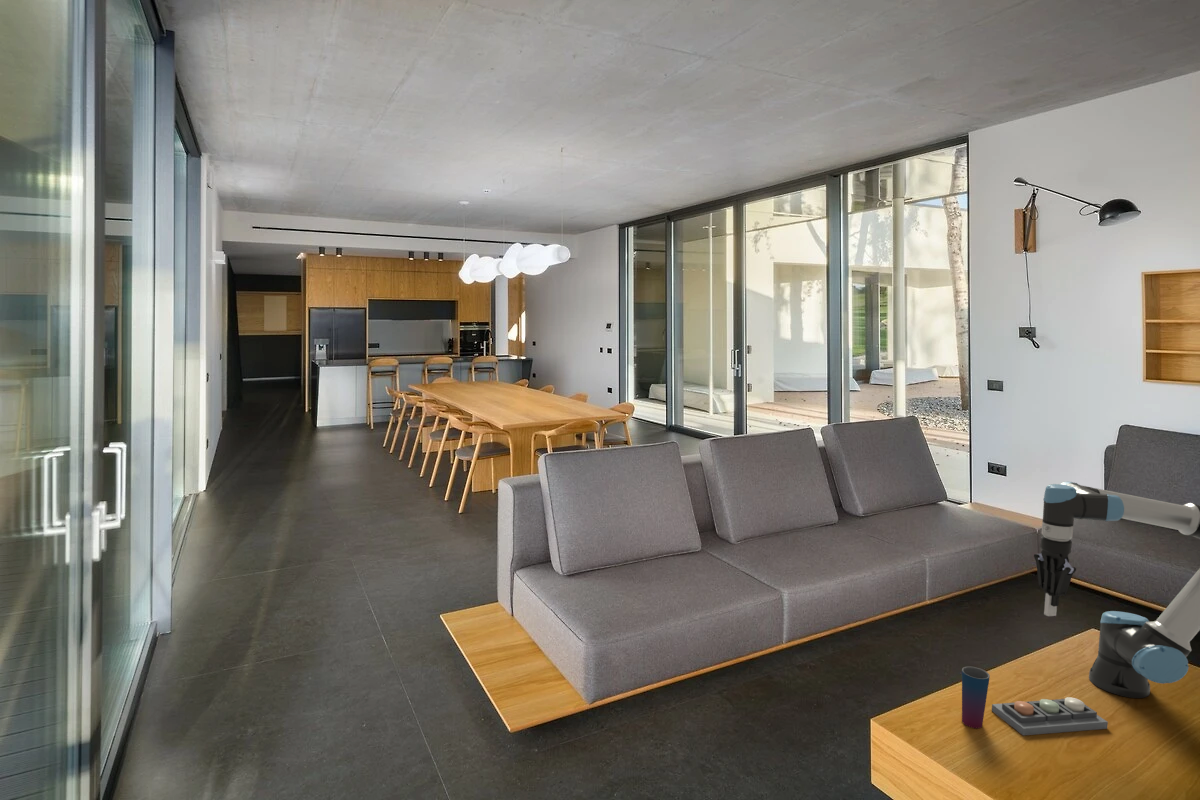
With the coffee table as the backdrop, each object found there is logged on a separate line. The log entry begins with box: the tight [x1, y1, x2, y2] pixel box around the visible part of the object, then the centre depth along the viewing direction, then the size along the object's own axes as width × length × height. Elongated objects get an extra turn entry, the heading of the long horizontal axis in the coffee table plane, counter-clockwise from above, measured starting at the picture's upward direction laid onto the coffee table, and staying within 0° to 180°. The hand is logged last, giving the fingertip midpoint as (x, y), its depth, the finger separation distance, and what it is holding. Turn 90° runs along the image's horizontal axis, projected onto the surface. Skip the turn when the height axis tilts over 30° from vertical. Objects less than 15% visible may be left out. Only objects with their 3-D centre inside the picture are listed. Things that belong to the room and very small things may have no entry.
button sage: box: [1039, 698, 1059, 714], centre depth 190 cm, size 5×5×2 cm
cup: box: [961, 666, 991, 729], centre depth 188 cm, size 7×7×15 cm
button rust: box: [1014, 700, 1034, 716], centre depth 189 cm, size 5×5×2 cm
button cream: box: [1064, 696, 1086, 712], centre depth 192 cm, size 5×5×2 cm
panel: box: [991, 698, 1109, 736], centre depth 191 cm, size 26×12×4 cm, turn 98°
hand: (1050, 614), depth 199 cm, fingers closed
